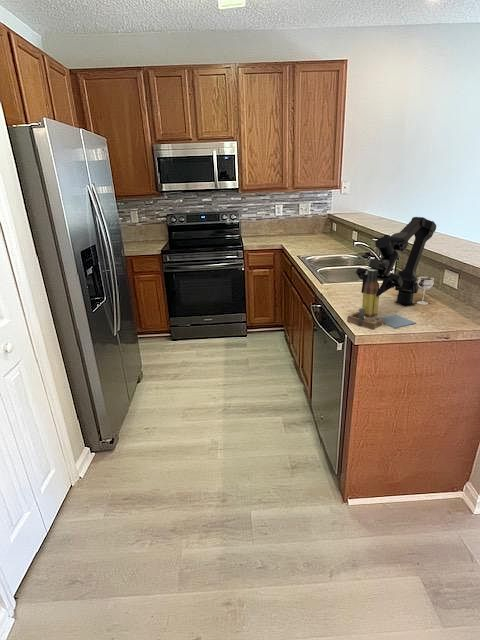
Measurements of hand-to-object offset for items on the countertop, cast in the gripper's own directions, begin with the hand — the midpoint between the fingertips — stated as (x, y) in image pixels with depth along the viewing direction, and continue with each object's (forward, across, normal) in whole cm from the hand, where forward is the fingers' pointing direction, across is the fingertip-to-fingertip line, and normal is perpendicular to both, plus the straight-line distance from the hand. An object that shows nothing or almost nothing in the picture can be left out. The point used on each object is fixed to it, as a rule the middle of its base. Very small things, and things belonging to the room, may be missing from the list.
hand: (369, 294), depth 149 cm
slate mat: (+2, +8, +15) cm, 17 cm away
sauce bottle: (+6, 0, +8) cm, 10 cm away
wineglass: (-19, +5, +37) cm, 42 cm away
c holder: (+10, 0, +7) cm, 12 cm away
